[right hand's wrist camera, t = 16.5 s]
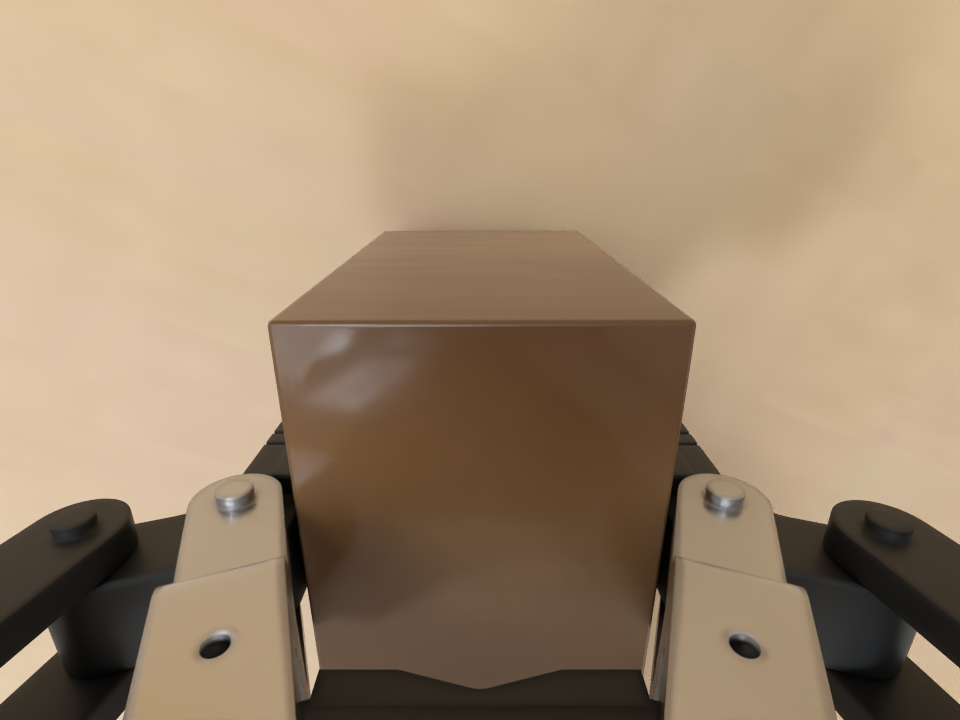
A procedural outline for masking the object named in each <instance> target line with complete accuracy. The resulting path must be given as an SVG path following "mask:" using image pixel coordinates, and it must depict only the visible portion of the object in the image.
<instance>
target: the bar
mask: <svg viewBox="0 0 960 720" xmlns="http://www.w3.org/2000/svg"><path fill="white" fill-rule="evenodd" d="M695 329H696V323H695V321H694V320H693V319H692V318H690V317H689V316H688V315H686V314H685V313H684V312H682V311H681V310H680V309H679V308H677V307H676V306H675V305H673V304H672V303H671V302H669V301H668V300H667V299H665V298H664V297H663V296H661V295H660V294H659V293H657V292H656V291H655V290H653V289H652V288H651V287H650V286H648V285H647V284H646V283H644V282H643V281H642V280H640V279H639V278H638V277H636V276H635V275H634V274H632V273H631V272H630V271H628V270H627V269H626V268H624V267H623V266H622V265H621V264H619V263H618V262H617V261H615V260H614V259H613V258H611V257H610V256H609V255H607V254H606V253H605V252H603V251H602V250H601V249H599V248H598V247H597V246H595V245H594V244H593V243H591V242H590V241H589V240H588V239H586V238H585V237H584V236H582V235H581V234H580V233H578V232H577V231H385V232H383V233H382V234H381V235H380V236H378V237H377V238H376V239H374V240H373V241H372V242H371V243H369V244H368V245H367V246H365V247H364V248H363V249H362V250H360V251H359V252H358V253H357V254H355V255H354V256H353V257H351V258H350V259H349V260H348V261H346V262H345V263H344V264H342V265H341V266H340V267H339V268H337V269H336V270H335V271H333V272H332V273H331V274H330V275H328V276H327V277H326V278H324V279H323V280H322V281H321V282H319V283H318V284H317V285H315V286H314V287H313V288H312V289H310V290H309V291H308V292H306V293H305V294H304V295H303V296H301V297H300V298H299V299H297V300H296V301H295V302H294V303H292V304H291V305H290V306H288V307H287V308H286V309H285V310H283V311H282V312H281V313H279V314H278V315H277V316H276V317H274V318H273V319H272V320H270V321H269V323H268V331H269V337H270V344H271V350H272V357H273V364H274V370H275V377H276V383H277V390H278V396H279V403H280V410H281V416H282V423H283V429H284V436H285V443H286V449H287V456H288V462H289V469H290V476H291V482H292V489H293V495H294V502H295V509H296V515H297V522H298V528H299V535H300V541H301V548H302V555H303V561H304V568H305V574H306V581H307V588H308V594H309V601H310V607H311V614H312V621H313V627H314V634H315V640H316V647H317V654H318V660H319V667H320V669H398V670H402V671H406V672H410V673H414V674H418V675H422V676H426V677H430V678H434V679H438V680H442V681H446V682H450V683H454V684H458V685H461V686H465V687H469V688H475V689H485V688H491V687H495V686H499V685H502V684H506V683H510V682H514V681H518V680H522V679H526V678H530V677H534V676H538V675H542V674H546V673H550V672H554V671H558V670H562V669H641V672H642V675H643V674H644V667H645V660H646V654H647V647H648V640H649V634H650V627H651V621H652V614H653V607H654V601H655V594H656V587H657V581H658V574H659V568H660V561H661V554H662V548H663V541H664V534H665V528H666V521H667V515H668V508H669V501H670V495H671V488H672V481H673V475H674V468H675V462H676V455H677V448H678V442H679V435H680V428H681V422H682V415H683V409H684V402H685V395H686V389H687V382H688V375H689V369H690V362H691V356H692V349H693V342H694V336H695Z"/></svg>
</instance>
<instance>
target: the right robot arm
mask: <svg viewBox="0 0 960 720" xmlns="http://www.w3.org/2000/svg"><path fill="white" fill-rule="evenodd" d="M306 588H307V581H306V574H305V568H304V561H303V555H302V548H301V541H300V535H299V528H298V522H297V515H296V509H295V502H294V495H293V489H292V482H291V476H290V469H289V462H288V456H287V449H286V443H285V436H284V429H283V423H282V422H281V423H280V425H279V426H278V427H277V429H276V430H275V434H272V436H271V437H270V438H269V440H268V441H267V445H264V446H263V448H262V449H261V450H260V452H259V453H258V454H257V456H256V457H255V459H254V460H253V461H252V463H251V464H250V465H249V467H248V468H247V469H246V471H245V472H244V473H243V474H241V475H236V476H231V477H228V478H225V479H222V480H219V481H217V482H214V483H212V484H210V485H208V486H207V487H205V488H204V489H202V490H201V491H200V492H198V493H197V494H196V495H195V496H194V497H193V498H192V500H191V501H190V503H189V505H188V508H187V513H186V514H183V515H179V516H174V517H169V518H164V519H159V520H154V521H149V522H144V523H138V524H135V523H134V519H133V516H132V512H131V509H130V507H129V505H128V504H126V503H125V502H123V501H120V500H116V499H96V500H89V501H84V502H80V503H76V504H73V505H70V506H67V507H64V508H62V509H59V510H57V511H55V512H52V513H50V514H48V515H46V516H45V517H43V518H41V519H40V520H38V521H36V522H35V523H33V524H32V525H30V526H29V527H27V528H26V529H24V530H22V531H21V532H19V533H18V534H16V535H15V536H13V537H12V538H10V539H9V540H7V541H5V542H4V543H2V544H1V545H0V668H1V667H2V666H3V665H4V664H5V663H7V662H8V661H9V660H10V659H11V658H13V657H14V656H15V655H16V654H17V653H18V652H20V651H21V650H22V649H23V648H24V647H25V646H27V645H28V644H29V643H30V642H31V641H32V640H34V639H35V638H36V637H37V636H38V635H39V634H41V633H42V632H43V631H44V630H45V629H47V628H48V629H49V631H50V634H51V636H52V639H53V641H54V644H55V646H56V649H57V651H58V652H57V653H56V654H55V655H54V656H53V657H52V658H51V659H50V660H48V661H47V662H46V663H45V664H44V665H43V666H42V667H41V668H40V669H39V670H37V671H36V672H35V673H34V674H33V675H32V676H31V677H30V678H29V679H28V680H27V681H25V682H24V683H23V684H22V685H21V686H20V687H19V688H18V689H17V690H16V691H15V692H13V693H12V694H11V695H10V696H9V697H8V698H7V699H6V700H5V701H4V702H2V703H1V704H0V720H116V719H117V718H118V717H119V716H120V715H121V714H122V712H123V711H124V710H125V712H124V716H123V720H837V716H836V712H835V710H836V711H837V712H838V714H839V715H840V716H841V717H842V718H843V719H844V720H960V704H959V703H958V702H956V701H955V700H954V699H953V698H952V697H951V696H950V695H949V694H948V693H947V692H945V691H944V690H943V689H942V688H941V687H940V686H939V685H938V684H937V683H936V682H935V681H933V680H932V679H931V678H930V677H929V676H928V675H927V674H926V673H925V672H924V671H923V670H921V669H920V668H919V667H918V666H917V665H916V664H915V663H914V662H913V661H912V660H910V659H909V658H908V657H907V654H908V652H909V649H910V647H911V644H912V642H913V639H914V637H915V634H916V632H918V633H919V634H921V635H922V636H923V637H924V638H925V639H926V640H928V641H929V642H930V643H931V644H932V645H933V646H935V647H936V648H937V649H938V650H939V651H940V652H942V653H943V654H944V655H945V656H946V657H947V658H949V659H950V660H951V661H952V662H953V663H955V664H956V665H957V666H958V667H959V668H960V545H959V544H958V543H956V542H955V541H953V540H951V539H950V538H948V537H947V536H945V535H944V534H942V533H941V532H939V531H938V530H936V529H934V528H933V527H931V526H930V525H928V524H927V523H925V522H924V521H922V520H920V519H918V518H917V517H915V516H913V515H911V514H909V513H907V512H904V511H902V510H899V509H897V508H894V507H891V506H888V505H884V504H880V503H876V502H871V501H863V500H850V501H844V502H840V503H838V504H836V505H835V506H834V507H833V509H832V511H831V514H830V518H829V521H828V524H827V525H826V524H821V523H816V522H811V521H806V520H801V519H796V518H790V517H786V516H782V515H778V514H775V513H773V508H772V505H771V503H770V501H769V500H768V498H767V497H766V496H765V495H764V494H763V493H762V492H760V491H759V490H758V489H756V488H755V487H753V486H752V485H750V484H748V483H746V482H743V481H741V480H738V479H735V478H732V477H729V476H724V475H721V474H720V473H719V472H718V470H717V469H716V468H715V466H714V465H713V464H712V462H711V461H710V460H709V458H708V457H707V456H706V454H705V453H704V452H703V450H702V449H701V448H700V446H697V442H696V441H695V440H694V438H693V437H692V436H691V435H689V432H688V430H687V429H686V428H685V426H684V425H683V424H682V422H681V428H680V435H679V442H678V448H677V455H676V462H675V468H674V475H673V481H672V488H671V495H670V501H669V508H668V515H667V521H666V528H665V534H664V541H663V548H662V554H661V561H660V568H659V574H658V581H657V587H656V588H657V589H658V591H659V594H660V596H661V598H660V604H659V610H658V616H657V626H656V636H655V646H654V656H653V665H652V675H651V685H650V695H649V694H648V691H647V688H646V685H645V682H644V678H643V675H642V672H641V669H562V670H558V671H554V672H550V673H546V674H542V675H538V676H534V677H530V678H526V679H522V680H518V681H514V682H510V683H506V684H502V685H499V686H495V687H491V688H485V689H475V688H469V687H465V686H461V685H458V684H454V683H450V682H446V681H442V680H438V679H434V678H430V677H426V676H422V675H418V674H414V673H410V672H406V671H402V670H398V669H319V672H318V675H317V678H316V682H315V685H314V688H313V691H312V694H311V695H310V685H309V675H308V665H307V656H306V646H305V636H304V626H303V616H302V610H301V604H300V602H301V600H302V598H303V595H304V593H305V590H306Z"/></svg>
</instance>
